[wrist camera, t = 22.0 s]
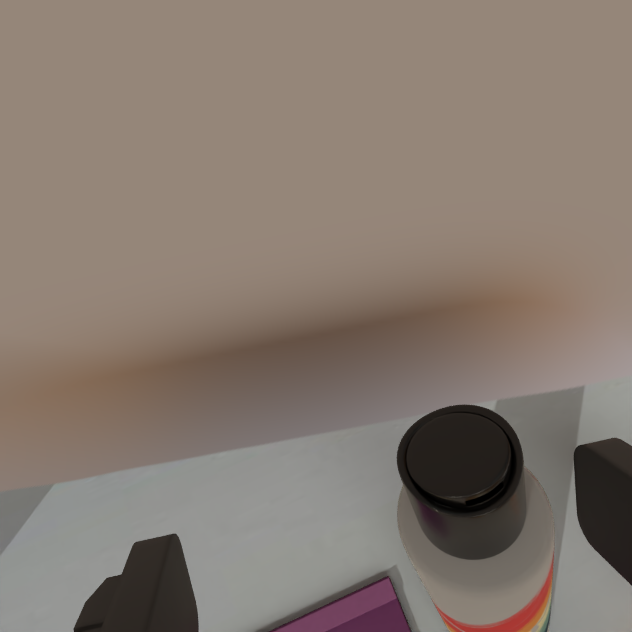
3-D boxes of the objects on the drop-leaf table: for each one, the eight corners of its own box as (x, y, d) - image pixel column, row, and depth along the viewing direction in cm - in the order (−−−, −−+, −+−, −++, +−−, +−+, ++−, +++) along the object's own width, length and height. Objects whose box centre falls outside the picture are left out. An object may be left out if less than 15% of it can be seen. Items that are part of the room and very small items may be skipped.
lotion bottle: (480, 693, 26) (418, 584, 13) (427, 587, 31) (338, 421, 17) (572, 642, 27) (607, 483, 13) (507, 544, 31) (483, 346, 17)
